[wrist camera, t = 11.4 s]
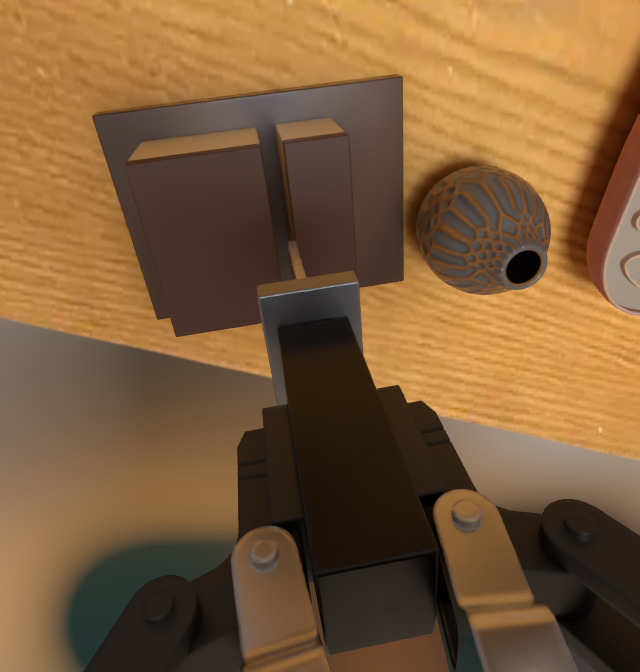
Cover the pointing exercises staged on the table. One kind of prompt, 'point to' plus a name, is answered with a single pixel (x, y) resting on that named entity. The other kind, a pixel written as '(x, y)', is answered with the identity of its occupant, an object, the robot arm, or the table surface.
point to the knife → (348, 466)
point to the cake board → (264, 113)
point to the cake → (206, 226)
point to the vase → (484, 231)
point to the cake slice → (318, 194)
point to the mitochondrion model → (619, 232)
